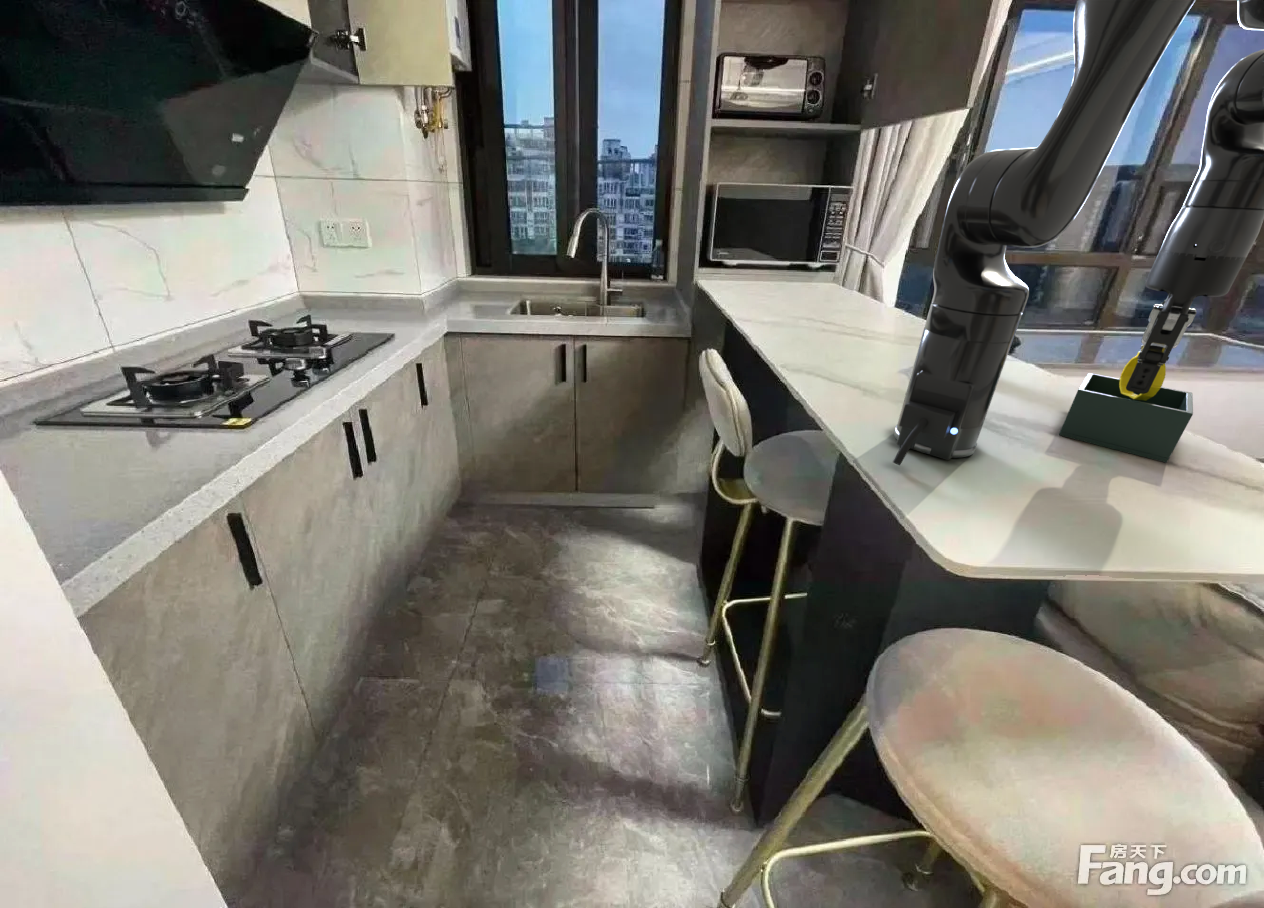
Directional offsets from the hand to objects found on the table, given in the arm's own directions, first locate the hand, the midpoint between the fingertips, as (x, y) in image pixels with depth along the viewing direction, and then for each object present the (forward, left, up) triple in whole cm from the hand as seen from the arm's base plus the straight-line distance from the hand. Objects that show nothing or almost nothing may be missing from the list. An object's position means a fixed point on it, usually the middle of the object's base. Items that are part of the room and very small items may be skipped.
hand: (1137, 386), depth 71 cm
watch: (0, 0, -2) cm, 2 cm away
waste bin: (0, 0, -7) cm, 7 cm away
